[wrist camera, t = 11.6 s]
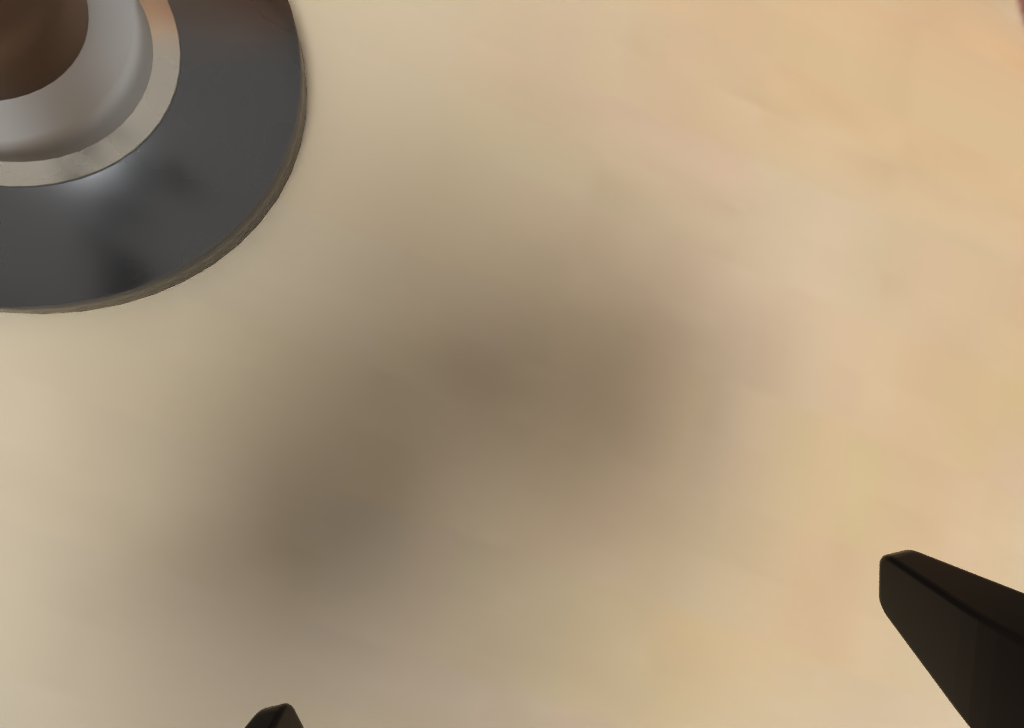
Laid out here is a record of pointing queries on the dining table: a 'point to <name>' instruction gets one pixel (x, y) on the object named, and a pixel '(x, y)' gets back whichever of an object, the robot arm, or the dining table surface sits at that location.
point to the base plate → (162, 165)
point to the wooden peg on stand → (69, 73)
